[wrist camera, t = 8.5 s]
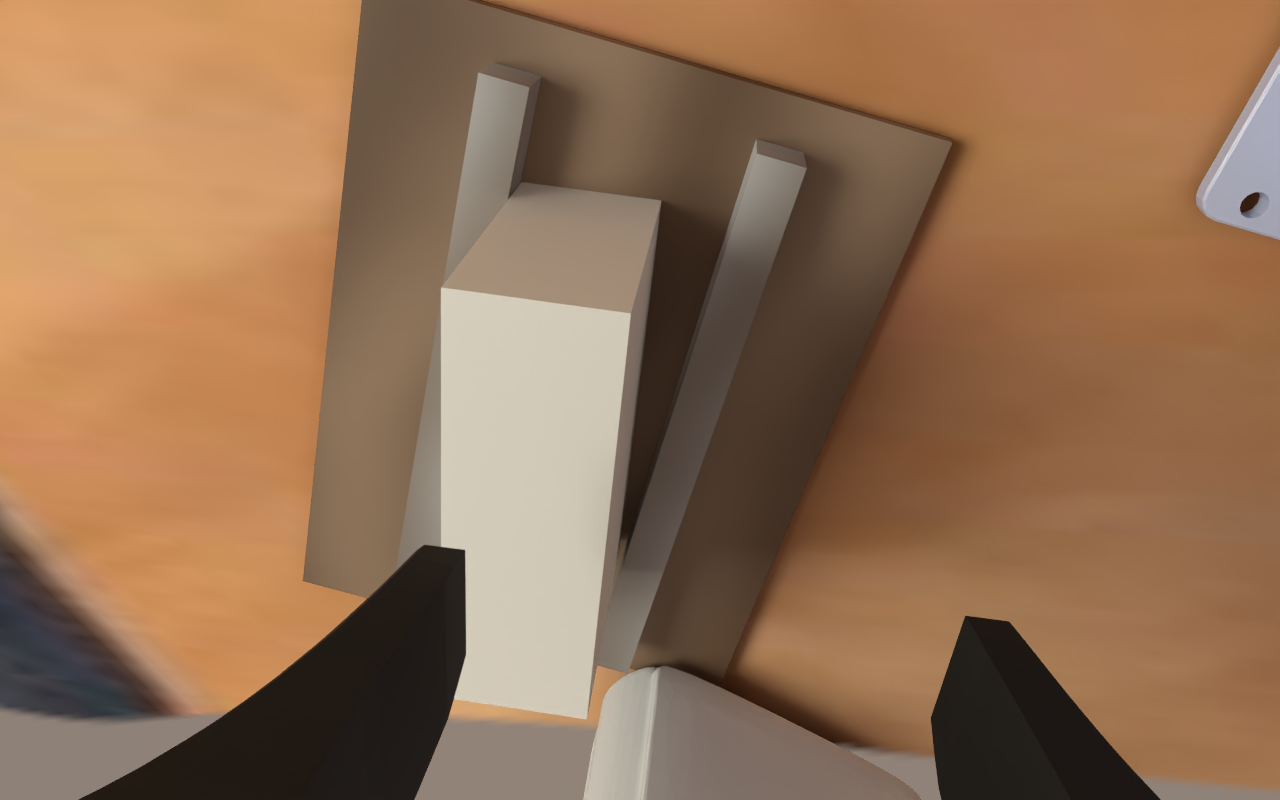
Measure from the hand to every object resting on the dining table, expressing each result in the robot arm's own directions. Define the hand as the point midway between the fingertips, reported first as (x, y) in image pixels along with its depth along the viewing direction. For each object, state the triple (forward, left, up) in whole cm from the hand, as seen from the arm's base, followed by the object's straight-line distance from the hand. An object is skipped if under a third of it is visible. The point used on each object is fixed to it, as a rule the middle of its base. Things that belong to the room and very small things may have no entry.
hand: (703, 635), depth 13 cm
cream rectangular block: (+3, +1, -9) cm, 10 cm away
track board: (+3, +2, -9) cm, 10 cm away
